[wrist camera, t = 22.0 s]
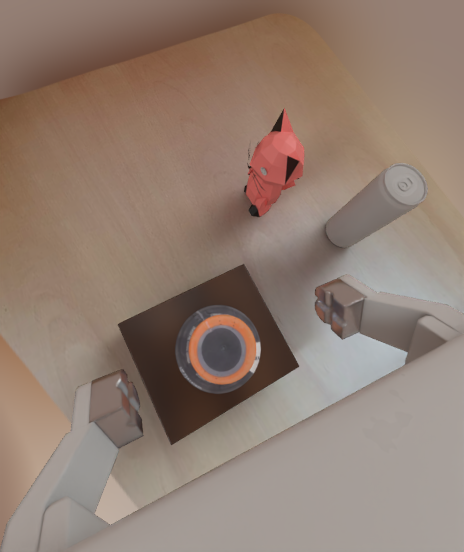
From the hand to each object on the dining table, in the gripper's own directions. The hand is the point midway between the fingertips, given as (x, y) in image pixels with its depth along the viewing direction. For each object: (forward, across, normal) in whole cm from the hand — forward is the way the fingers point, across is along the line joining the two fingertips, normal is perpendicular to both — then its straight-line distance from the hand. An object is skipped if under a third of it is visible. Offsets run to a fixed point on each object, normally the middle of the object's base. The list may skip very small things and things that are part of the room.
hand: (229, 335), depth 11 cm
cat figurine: (+26, -14, +5) cm, 29 cm away
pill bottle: (+11, 0, +12) cm, 17 cm away
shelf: (+15, 0, +16) cm, 21 cm away
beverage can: (+20, -23, +11) cm, 32 cm away
